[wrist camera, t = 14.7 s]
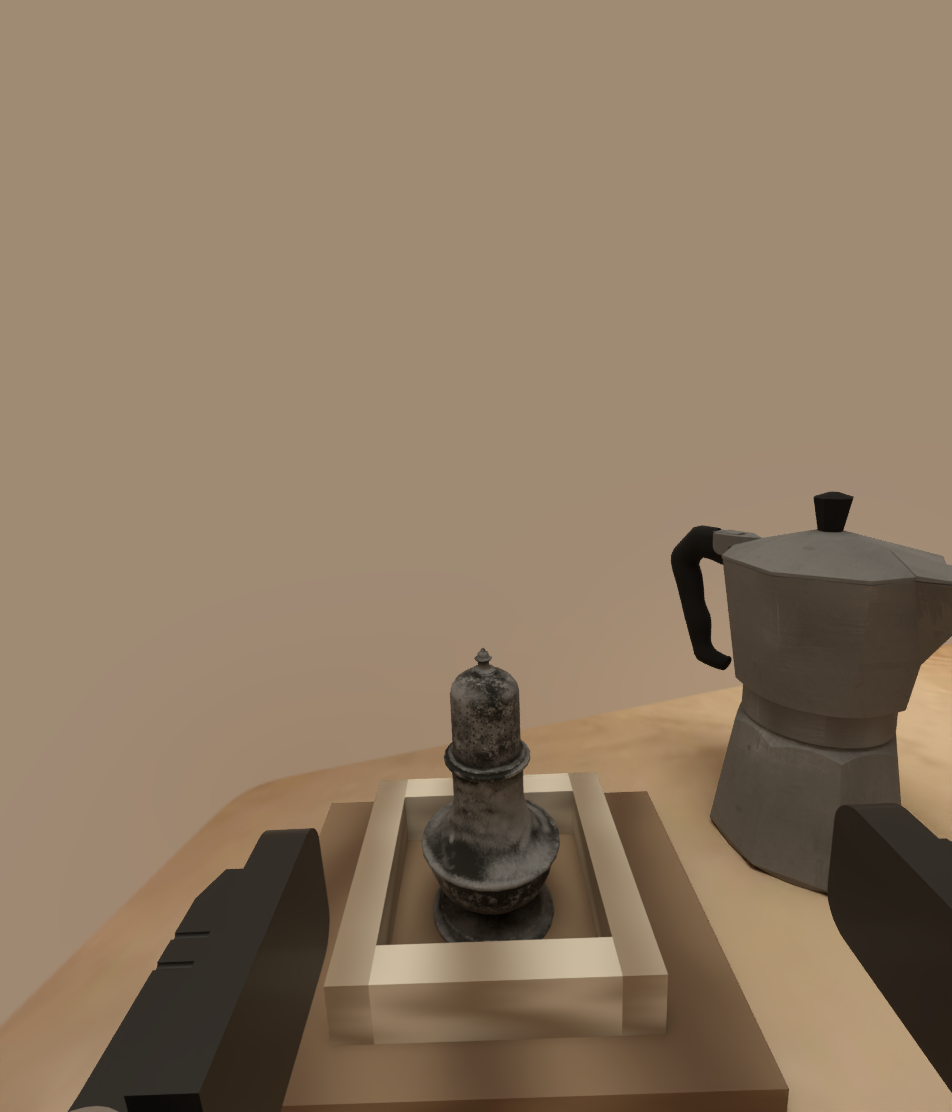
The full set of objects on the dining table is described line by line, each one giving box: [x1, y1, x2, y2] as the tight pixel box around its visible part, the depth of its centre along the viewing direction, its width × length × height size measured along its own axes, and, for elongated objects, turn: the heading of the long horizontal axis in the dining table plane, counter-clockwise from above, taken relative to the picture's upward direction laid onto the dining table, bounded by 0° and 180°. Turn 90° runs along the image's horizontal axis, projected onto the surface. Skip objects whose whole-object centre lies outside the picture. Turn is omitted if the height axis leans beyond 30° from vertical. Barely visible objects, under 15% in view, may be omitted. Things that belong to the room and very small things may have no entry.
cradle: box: [281, 772, 789, 1112], centre depth 25 cm, size 18×15×4 cm
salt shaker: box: [421, 648, 560, 943], centre depth 24 cm, size 6×6×12 cm
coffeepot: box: [671, 492, 952, 893], centre depth 29 cm, size 15×9×18 cm, turn 32°
